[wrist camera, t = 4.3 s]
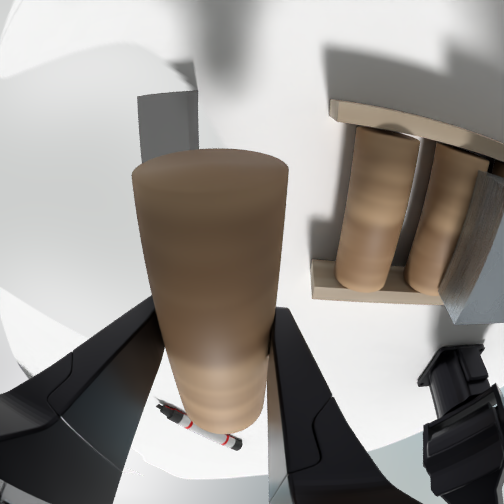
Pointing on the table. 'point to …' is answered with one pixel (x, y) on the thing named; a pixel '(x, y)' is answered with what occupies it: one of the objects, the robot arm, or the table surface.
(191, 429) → the marker
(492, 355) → the table surface
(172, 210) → the roller
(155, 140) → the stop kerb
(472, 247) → the slab
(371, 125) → the roller bed
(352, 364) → the table surface
